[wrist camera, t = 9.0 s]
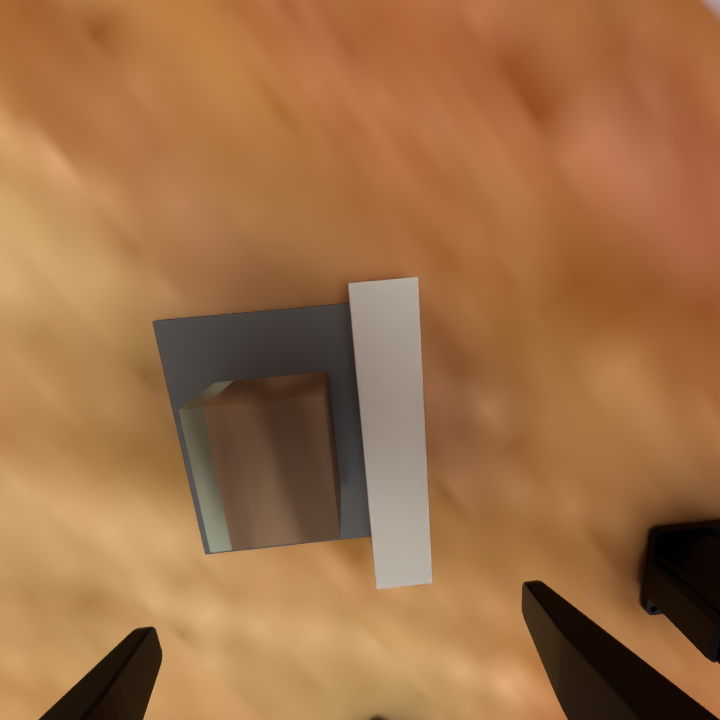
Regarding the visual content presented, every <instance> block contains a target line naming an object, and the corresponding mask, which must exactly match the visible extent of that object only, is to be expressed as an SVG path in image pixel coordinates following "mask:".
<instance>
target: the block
mask: <svg viewBox="0 0 720 720" xmlns="http://www.w3.org/2000/svg"><path fill="white" fill-rule="evenodd" d="M179 414H180V419H181V423H182V428H183V432H184V437H185V441H186V446H187V450H188V455H189V459H190V464H191V468H192V473H193V477H194V481H195V486H196V490H197V495H198V499H199V504H200V508H201V513H202V517H203V522H204V526H205V531H206V535H207V540H208V544H209V548H210V553H212V552H221V551H230V550H239V549H248V548H257V547H266V546H275V545H284V544H293V543H302V542H311V541H320V540H329V539H338V538H340V532H341V482H340V473H339V464H338V455H337V446H336V438H335V429H334V420H333V411H332V403H331V394H330V385H329V376H328V372H317V373H307V374H297V375H287V376H276V377H266V378H256V379H246V380H235V381H225V382H215V383H214V384H212V385H211V386H210V387H208V388H207V389H206V390H204V391H203V392H202V393H201V394H199V395H198V396H197V397H195V398H194V399H193V400H191V401H190V402H189V403H187V404H186V405H185V406H183V407H182V408H181V409H179Z"/></svg>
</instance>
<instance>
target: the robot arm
mask: <svg viewBox="0 0 720 720" xmlns="http://www.w3.org/2000/svg"><path fill="white" fill-rule="evenodd" d="M641 606H642V608H643V609H644V610H645V611H646V612H647V613H648V614H650V615H657V614H664V615H665V616H666V617H667V618H668V619H669V620H670V621H671V622H672V623H673V624H674V625H675V626H676V627H677V628H678V629H679V630H680V631H681V632H682V633H683V634H684V635H685V636H686V637H687V638H688V639H689V640H690V641H691V642H692V643H693V644H694V646H695V647H696V648H697V649H698V650H699V651H700V652H701V653H702V654H703V655H704V656H705V657H706V658H708V659H709V660H710V661H711V662H714V663H715V662H718V663H719V664H720V520H718V521H709V522H700V523H691V524H682V525H673V526H664V527H657V528H655V529H653V530H652V531H651V533H650V539H649V547H648V555H647V563H646V571H645V579H644V587H643V595H642V603H641ZM522 613H523V617H524V620H525V622H526V625H527V627H528V629H529V632H530V634H531V637H532V639H533V641H534V644H535V646H536V649H537V651H538V654H539V656H540V658H541V661H542V663H543V666H544V668H545V670H546V673H547V675H548V678H549V680H550V683H551V685H552V687H553V690H554V692H555V694H556V696H557V699H558V701H559V703H560V705H561V707H562V709H563V711H564V713H565V715H566V717H567V719H568V720H720V719H718V718H717V717H716V716H714V715H713V714H712V713H711V712H709V711H708V710H707V709H705V708H704V707H703V706H701V705H700V704H699V703H698V702H696V701H695V700H694V699H692V698H691V697H690V696H689V695H687V694H686V693H685V692H683V691H682V690H681V689H680V688H678V687H677V686H676V685H674V684H673V683H672V682H671V681H669V680H668V679H667V678H665V677H664V676H663V675H662V674H660V673H659V672H658V671H656V670H655V669H654V668H653V667H651V666H650V665H649V664H647V663H646V662H645V661H644V660H642V659H641V658H640V657H638V656H637V655H636V654H635V653H633V652H632V651H631V650H629V649H628V648H627V647H626V646H624V645H623V644H622V643H620V642H619V641H618V640H616V639H615V638H614V637H613V636H611V635H610V634H609V633H607V632H606V631H605V630H604V629H602V628H601V627H600V626H598V625H597V624H596V623H595V622H593V621H592V620H591V619H589V618H588V617H587V616H586V615H584V614H583V613H582V612H580V611H579V610H578V609H577V608H575V607H574V606H573V605H571V604H570V603H569V602H568V601H566V600H565V599H564V598H562V597H561V596H560V595H559V594H557V593H556V592H555V591H553V590H552V589H551V588H550V587H548V586H547V585H546V584H544V583H543V582H541V581H539V580H535V581H527V582H524V583H523V586H522ZM161 662H162V649H161V646H160V642H159V639H158V635H157V632H156V629H155V628H154V627H143V628H137V629H135V630H133V631H132V632H131V633H130V634H129V635H128V636H127V637H126V638H125V639H123V640H122V641H121V642H120V643H119V644H118V645H117V646H116V647H115V648H114V649H113V650H112V651H111V652H110V653H109V654H108V655H107V656H105V657H104V658H103V659H102V660H101V661H100V662H99V663H98V664H97V665H96V666H95V667H94V668H93V669H92V670H91V671H90V672H88V673H87V674H86V675H85V676H84V677H83V678H82V679H81V680H80V681H79V682H78V683H77V684H76V685H75V686H74V687H73V688H71V689H70V690H69V691H68V692H67V693H66V694H65V695H64V696H63V697H62V698H61V699H60V700H59V701H58V702H57V703H56V704H55V705H53V706H52V707H51V708H50V709H49V710H48V711H47V712H46V713H45V714H44V715H43V716H42V717H41V718H40V719H39V720H143V718H144V715H145V712H146V709H147V706H148V703H149V700H150V697H151V693H152V690H153V687H154V684H155V681H156V678H157V675H158V672H159V669H160V666H161Z"/></svg>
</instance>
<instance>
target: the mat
mask: <svg viewBox="0 0 720 720" xmlns="http://www.w3.org/2000/svg"><path fill="white" fill-rule="evenodd" d="M152 322H153V326H154V330H155V335H156V339H157V344H158V348H159V352H160V357H161V361H162V366H163V370H164V375H165V379H166V383H167V388H168V392H169V397H170V401H171V405H172V410H173V414H174V419H175V423H176V427H177V432H178V436H179V441H180V445H181V450H182V454H183V458H184V463H185V467H186V472H187V476H188V480H189V485H190V489H191V494H192V498H193V502H194V507H195V511H196V516H197V520H198V525H199V529H200V533H201V538H202V542H203V547H204V551H205V554H213V553H222V552H231V551H240V550H250V549H259V548H268V547H277V546H286V545H295V544H304V543H313V542H322V541H332V540H341V539H350V538H359V537H368V536H371V528H370V518H369V507H368V496H367V485H366V475H365V464H364V453H363V442H362V432H361V421H360V410H359V400H358V389H357V378H356V367H355V357H354V346H353V335H352V324H351V314H350V303H345V304H334V305H323V306H312V307H301V308H290V309H279V310H268V311H257V312H246V313H235V314H224V315H214V316H203V317H192V318H181V319H170V320H159V321H152ZM317 372H328V376H329V385H330V394H331V403H332V411H333V420H334V429H335V438H336V446H337V455H338V464H339V473H340V482H341V532H340V538H338V539H329V540H320V541H311V542H302V543H293V544H284V545H275V546H266V547H257V548H248V549H239V550H230V551H221V552H212V553H210V548H209V544H208V540H207V535H206V531H205V526H204V522H203V517H202V513H201V508H200V504H199V499H198V495H197V490H196V486H195V481H194V477H193V473H192V468H191V464H190V459H189V455H188V450H187V446H186V441H185V437H184V432H183V428H182V423H181V419H180V414H179V409H181V408H182V407H183V406H185V405H186V404H187V403H189V402H190V401H191V400H193V399H194V398H195V397H197V396H198V395H199V394H201V393H202V392H203V391H204V390H206V389H207V388H208V387H210V386H211V385H212V384H214V383H215V382H225V381H235V380H246V379H256V378H266V377H276V376H287V375H297V374H307V373H317Z"/></svg>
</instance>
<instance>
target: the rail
mask: <svg viewBox="0 0 720 720" xmlns="http://www.w3.org/2000/svg"><path fill="white" fill-rule="evenodd" d="M348 293H349V303H350V314H351V324H352V335H353V346H354V357H355V367H356V378H357V389H358V400H359V410H360V421H361V432H362V442H363V453H364V464H365V475H366V485H367V496H368V507H369V518H370V528H371V540H372V550H373V559H374V568H375V578H376V587H377V589H384V588H393V587H401V586H410V585H419V584H428V583H432V566H431V545H430V524H429V502H428V481H427V460H426V439H425V417H424V396H423V375H422V353H421V332H420V311H419V290H418V277H411V278H400V279H389V280H378V281H367V282H356V283H348Z"/></svg>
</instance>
